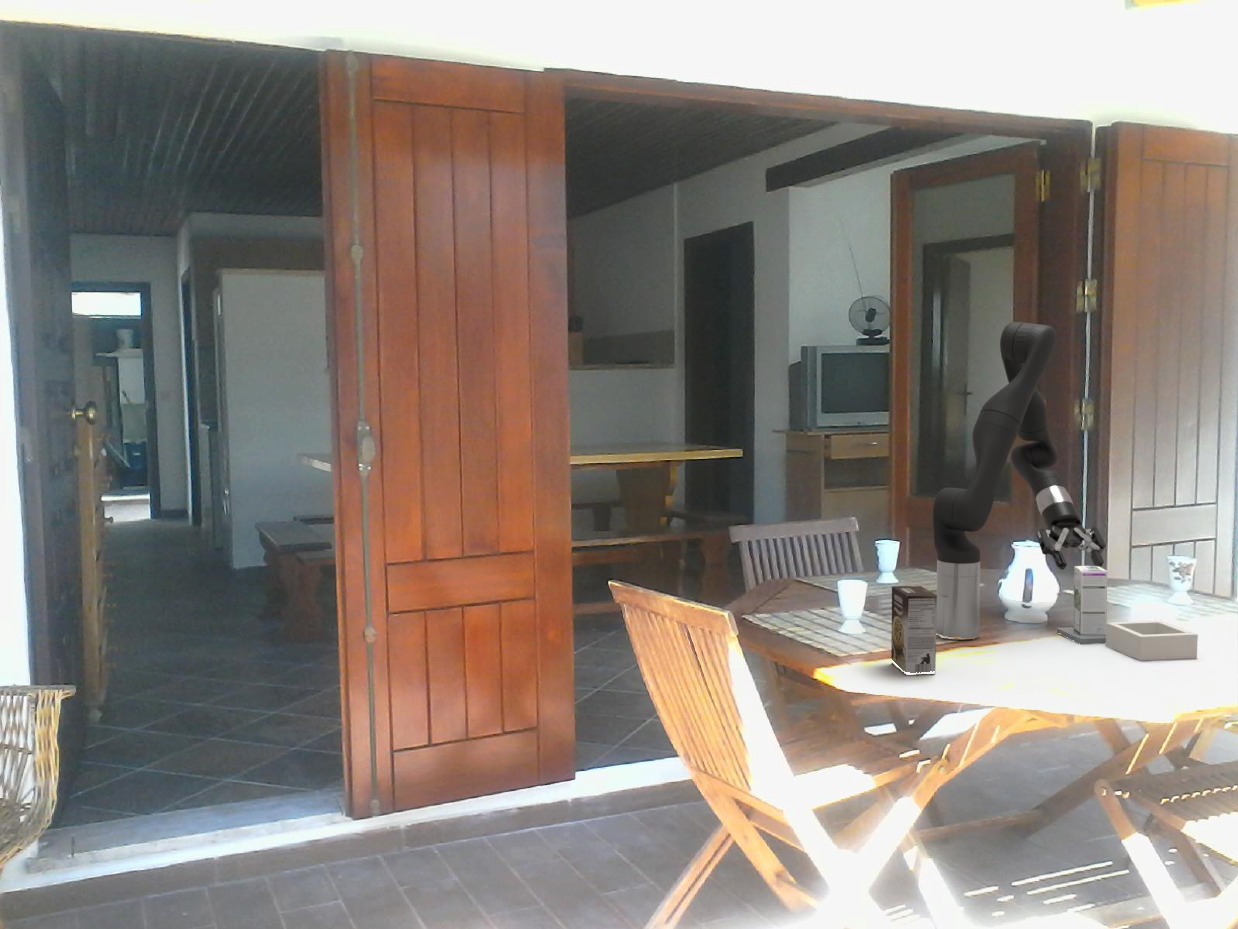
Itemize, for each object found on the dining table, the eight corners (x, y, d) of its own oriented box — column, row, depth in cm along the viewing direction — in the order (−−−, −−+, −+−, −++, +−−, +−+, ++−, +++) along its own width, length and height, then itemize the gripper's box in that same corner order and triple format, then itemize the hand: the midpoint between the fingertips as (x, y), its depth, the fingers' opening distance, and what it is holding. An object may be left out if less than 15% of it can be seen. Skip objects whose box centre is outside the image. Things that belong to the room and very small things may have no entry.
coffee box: (889, 663, 222) (890, 585, 220) (920, 662, 222) (921, 585, 221) (904, 676, 212) (905, 595, 211) (936, 675, 213) (938, 594, 212)
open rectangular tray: (1139, 660, 222) (1140, 636, 221) (1105, 645, 234) (1106, 622, 233) (1196, 658, 223) (1197, 634, 223) (1159, 643, 235) (1160, 620, 235)
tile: (1080, 644, 235) (1080, 638, 235) (1056, 633, 245) (1056, 628, 245) (1123, 642, 236) (1123, 637, 236) (1098, 631, 246) (1098, 626, 246)
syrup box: (1107, 635, 237) (1109, 570, 236) (1079, 635, 238) (1081, 569, 237) (1099, 629, 243) (1101, 565, 242) (1071, 629, 244) (1073, 565, 243)
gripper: (1034, 500, 250) (1058, 558, 239) (1092, 499, 251) (1119, 556, 241) (1022, 520, 256) (1045, 577, 245) (1079, 519, 257) (1105, 576, 247)
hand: (1081, 567), depth 243 cm, fingers open, 8 cm apart
